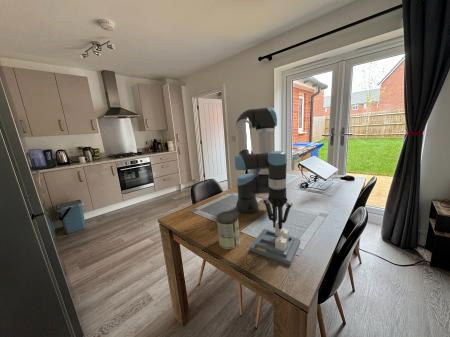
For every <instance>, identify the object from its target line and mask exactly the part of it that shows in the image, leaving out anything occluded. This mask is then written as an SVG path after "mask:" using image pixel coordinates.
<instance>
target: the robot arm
mask: <svg viewBox="0 0 450 337" xmlns="http://www.w3.org/2000/svg"><path fill="white" fill-rule="evenodd" d="M235 124H236V125H235V127H236V131H237V139H238V140H237V141H238V142H237V143H238V146H237V147H238V154H236V155H234V169H235V170H237V171H250V170H259V172H258V173H257V175H255V173H250V172H249V173H245V174H244V173H243V174H242V175H239V176H238V177H237V180H236V186H237V197H238V198H237V200H236V201H237V202H236V206H235V209H236V211H237V212H238V213H241V214H245V215H246V214H247V215H248V214H253V213H257V212H258V211H259V209H260V208H259V206H260V205H259V203H258V200H257V196H256V195H263V194H264V195H266V194H267V195H268V197H267V198H266V197H265V199H263V200H262V202H263V204H264V205H265V209H266V212H267V216H268V220H269V221H272V223H273V224H272V225H273V226H272V227H273V229H274V232H275V235H276V236H278V231H279V229H280V230H281V229H283V224H286V222H287V219H288V217H289V214H290V210H291V208H292V207H293V203H292V202H289V201H288V198H287V163H288V159H287V153H286V152H285V151H281V150H274V141H273V140H274V139H273V131H274V130H275V128H276V127H277V126H278V116H277V112H276V110H275V108H274V107H261V108H260V107H259V108H252V109H247V110H245V111H243V112H241V114H240V115H239V116H238V118H237V119H236V123H235ZM252 129H255V132H257V134H258V152H259V153H254V146H253V145H254V144H253V138H252ZM285 204H286V205H285ZM284 206H285V207H286V208H285V210H284V211H283V207H284ZM283 213H284V214H283Z"/></svg>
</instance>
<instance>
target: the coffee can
mask: <svg viewBox="0 0 450 337" xmlns="http://www.w3.org/2000/svg"><path fill="white" fill-rule="evenodd" d="M215 219H216V226H217V234H218V245H219V246H220V247H221V248H222V249H224V250H231V249H235V248H237V247H238V246H239V245H240V243H241V241H240V231H239V230H240V229H239V214H237V212H235V211H223V212H220V213H219V214H217V215H216V218H215Z"/></svg>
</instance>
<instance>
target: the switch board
mask: <svg viewBox="0 0 450 337" xmlns="http://www.w3.org/2000/svg"><path fill="white" fill-rule="evenodd" d="M277 237H278V236H276V235H275V230H274V231H273V230H270V229H266V228H263V230H262V231H261V232H260V233H259V235H258V236H257V237H256V238H255V239H254V240H253V242H252V243H251V244H250V246H249V251H251V252H253V253H255V254H258V255H260V256H263V257H266V258H269V259H272V260H274V261H277V262H280V263H282V264H285V265H287V266H291V265H292V263H293V261H294V259H295V257H296V254H297V252H298V249H299V247H300V244H301V238H298V237H295V236H291V235H289V241H288V242H287V249H286V251H285V252H283V251H280V250H277V249H275V240H276V238H277Z"/></svg>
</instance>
